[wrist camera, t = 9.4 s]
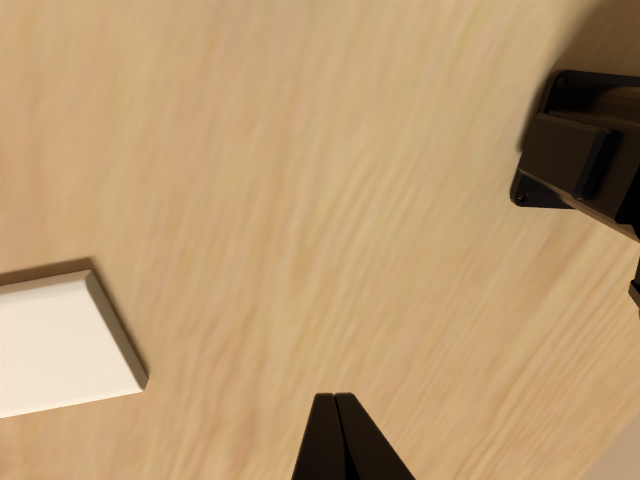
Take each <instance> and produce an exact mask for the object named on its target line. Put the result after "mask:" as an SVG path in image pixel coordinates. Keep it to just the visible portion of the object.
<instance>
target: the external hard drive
mask: <svg viewBox="0 0 640 480" xmlns="http://www.w3.org/2000/svg"><path fill="white" fill-rule="evenodd" d="M147 383H148V377H147V375H146V373H145V371H144V369H143V367H142V365H141V364H140V362H139V360H138V358H137V356H136V354H135V352H134V350H133V348H132V346H131V344H130V342H129V340H128V338H127V337H126V335H125V333H124V331H123V329H122V327H121V325H120V323H119V321H118V319H117V317H116V315H115V313H114V311H113V309H112V307H111V306H110V304H109V302H108V300H107V298H106V296H105V294H104V292H103V290H102V288H101V286H100V284H99V282H98V280H97V278H96V276H95V274H94V272H93V271H92V269H88V270H83V271H78V272H72V273H67V274H61V275H56V276H51V277H45V278H40V279H35V280H30V281H24V282H19V283H13V284H7V285H2V286H0V418H3V417H8V416H14V415H19V414H25V413H30V412H36V411H41V410H47V409H52V408H57V407H63V406H68V405H74V404H80V403H85V402H90V401H95V400H100V399H106V398H111V397H116V396H122V395H127V394H132V393H137V392H142V391H144V390H145V388H146V385H147Z"/></svg>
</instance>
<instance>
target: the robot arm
mask: <svg viewBox="0 0 640 480" xmlns="http://www.w3.org/2000/svg"><path fill="white" fill-rule="evenodd" d="M562 77H563V83H562V85H560V86H558V81H559V80H560V78H562ZM522 193H524V196H523V197H522V198H521V199H519V196H520V195H521V194H522ZM510 200H511V202H513V203H514V204H515V205H517V206H520V207H538V208H558V209H577V210H579V211H581V212H583V213H585V214H586V215H588V216H590V217H592V218H594V219H596V220H597V221H599V222H601V223H603V224H605V225H607V226H609V227H610V228H612V229H614V230H616V231H618V232H620V233H622V234H623V235H625V236H627V237H629V238H631V239H633V240H634V241H636V242H638V243H640V77H633V76H624V75H614V74H604V73H594V72H584V71H574V70H563V69H561V70H557V71H555V72H553V73H552V75H551V76H550V77H549V79H548V82H547V85H546V88H545V91H544V94H543V97H542V100H541V103H540V106H539V109H538V112H537V115H536V117H535V118H534V121H533V124H532V127H531V130H530V133H529V136H528V139H527V142H526V145H525V148H524V151H523V154H522V157H521V160H520V163H519V170H518V173H517V176H516V179H515V182H514V185H513V188H512V191H511V194H510ZM628 293H629V295H630V296H631V297H632V299H633V300H634V302H635V303H636V305H637V306H638V307H639V312H638V313H639V318H640V258H639V262H638V266H637V270H636V274H635V279H634V280H631V282H630V286H629V290H628ZM291 480H416V479H415V478H414V476H413V475H412V474H411V472H410V471H409V470H408V468H407V467H406V465H405V464H404V463H403V461H402V460H401V459H400V457H399V456H398V454H397V453H396V452H395V450H394V449H393V448H392V446H391V445H390V443H389V442H388V441H387V439H386V438H385V437H384V435H383V434H382V432H381V431H380V430H379V428H378V427H377V425H376V424H375V423H374V421H373V420H372V419H371V417H370V416H369V414H368V413H367V412H366V410H365V409H364V408H363V406H362V405H361V403H360V402H359V401H358V399H357V398H356V397H355V395H354V394H352V393H349V392H348V393H335V394H334V395H333V394H332V393H317V394H316V395H315V397H314V400H313V404H312V407H311V411H310V414H309V418H308V421H307V425H306V429H305V432H304V436H303V439H302V443H301V446H300V450H299V453H298V457H297V461H296V464H295V468H294V471H293V475H292V478H291Z"/></svg>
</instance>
